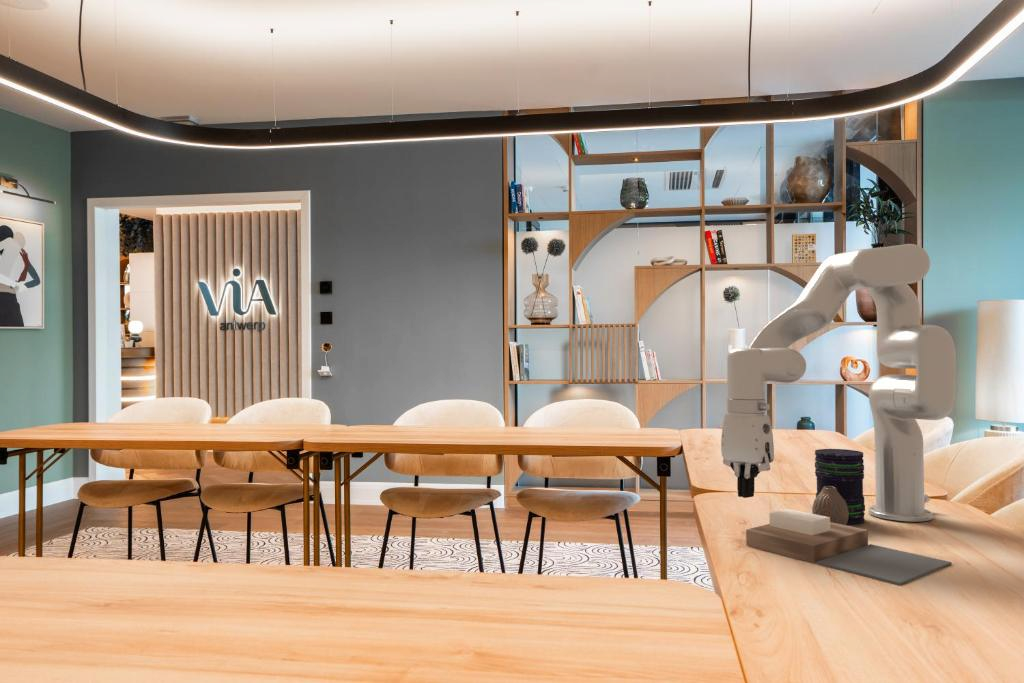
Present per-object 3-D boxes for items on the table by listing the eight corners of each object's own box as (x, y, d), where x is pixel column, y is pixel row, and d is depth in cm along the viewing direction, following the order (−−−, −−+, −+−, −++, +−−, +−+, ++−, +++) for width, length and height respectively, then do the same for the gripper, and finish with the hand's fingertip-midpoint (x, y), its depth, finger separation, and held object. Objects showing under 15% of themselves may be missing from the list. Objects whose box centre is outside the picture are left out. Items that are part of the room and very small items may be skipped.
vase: (805, 527, 145) (804, 485, 145) (828, 523, 148) (827, 482, 148) (832, 535, 139) (831, 491, 139) (856, 531, 141) (855, 488, 142)
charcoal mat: (870, 546, 130) (870, 544, 130) (951, 564, 119) (951, 562, 119) (817, 563, 120) (816, 561, 120) (899, 585, 109) (899, 582, 109)
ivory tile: (787, 521, 138) (787, 508, 138) (830, 530, 131) (830, 517, 131) (769, 525, 135) (769, 513, 135) (812, 535, 127) (812, 522, 127)
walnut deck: (800, 530, 142) (800, 516, 142) (868, 545, 131) (867, 529, 131) (746, 545, 132) (746, 529, 132) (814, 563, 120) (814, 545, 120)
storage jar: (828, 512, 158) (827, 447, 158) (873, 520, 150) (871, 451, 150) (807, 519, 151) (806, 451, 152) (852, 528, 144) (851, 456, 144)
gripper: (789, 409, 138) (789, 501, 138) (727, 404, 151) (727, 488, 150) (766, 410, 134) (766, 505, 134) (705, 406, 146) (704, 492, 146)
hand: (745, 496), depth 142 cm, fingers closed
